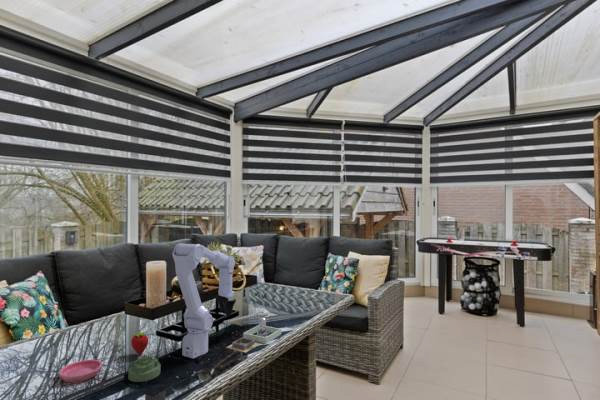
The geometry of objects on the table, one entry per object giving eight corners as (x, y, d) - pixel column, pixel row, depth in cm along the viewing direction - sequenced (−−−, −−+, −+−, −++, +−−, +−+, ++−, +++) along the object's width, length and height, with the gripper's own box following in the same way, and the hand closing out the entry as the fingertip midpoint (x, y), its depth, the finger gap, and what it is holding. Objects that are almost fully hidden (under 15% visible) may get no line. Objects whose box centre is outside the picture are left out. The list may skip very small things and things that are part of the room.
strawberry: (135, 360, 126) (135, 333, 126) (128, 354, 131) (128, 328, 131) (151, 355, 130) (151, 329, 130) (143, 350, 135) (143, 325, 135)
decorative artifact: (161, 377, 113) (158, 365, 122) (162, 356, 113) (159, 346, 122) (128, 385, 108) (128, 372, 117) (128, 363, 109) (128, 351, 117)
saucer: (109, 368, 120) (110, 359, 120) (86, 386, 108) (86, 376, 108) (76, 367, 121) (76, 358, 121) (49, 385, 108) (49, 375, 108)
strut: (268, 337, 147) (269, 318, 147) (260, 339, 144) (260, 320, 145) (264, 334, 150) (264, 316, 151) (255, 336, 148) (255, 317, 148)
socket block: (245, 354, 131) (245, 348, 131) (225, 349, 135) (226, 343, 135) (260, 345, 139) (260, 339, 139) (241, 340, 144) (241, 335, 144)
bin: (266, 345, 139) (266, 338, 139) (243, 340, 145) (243, 333, 145) (281, 335, 150) (281, 329, 150) (259, 331, 156) (259, 324, 156)
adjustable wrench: (224, 325, 165) (224, 322, 165) (220, 322, 170) (220, 318, 170) (269, 316, 179) (269, 312, 179) (264, 313, 184) (264, 310, 184)
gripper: (240, 284, 145) (240, 316, 145) (228, 278, 157) (228, 307, 157) (224, 286, 141) (224, 319, 141) (214, 280, 154) (213, 310, 153)
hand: (225, 313), depth 149 cm, fingers open, 7 cm apart
